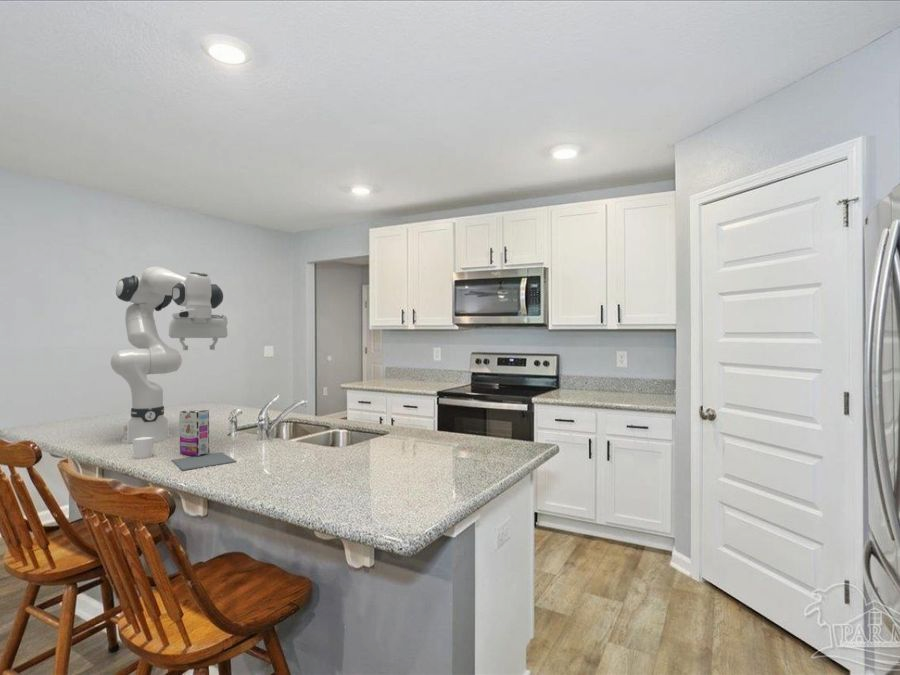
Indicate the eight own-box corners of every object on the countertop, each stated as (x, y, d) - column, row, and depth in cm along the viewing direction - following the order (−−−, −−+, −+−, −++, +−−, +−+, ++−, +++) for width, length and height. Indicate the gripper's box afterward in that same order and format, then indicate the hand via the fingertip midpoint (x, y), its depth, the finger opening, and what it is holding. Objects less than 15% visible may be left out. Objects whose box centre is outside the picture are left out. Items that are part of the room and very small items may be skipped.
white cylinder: (158, 455, 183) (158, 436, 183) (145, 459, 176) (145, 440, 176) (141, 454, 183) (141, 436, 183) (127, 459, 177) (127, 439, 177)
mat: (171, 461, 174) (171, 459, 174) (222, 453, 185) (222, 452, 185) (182, 471, 161) (182, 469, 161) (236, 462, 172) (236, 461, 172)
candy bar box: (210, 454, 182) (209, 409, 183) (197, 456, 178) (197, 411, 178) (191, 452, 187) (191, 409, 188) (179, 454, 183) (178, 410, 184)
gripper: (225, 315, 198) (225, 349, 198) (167, 313, 185) (167, 350, 185) (229, 314, 193) (229, 349, 193) (171, 313, 180) (171, 350, 180)
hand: (199, 349), depth 189 cm, fingers open, 8 cm apart
